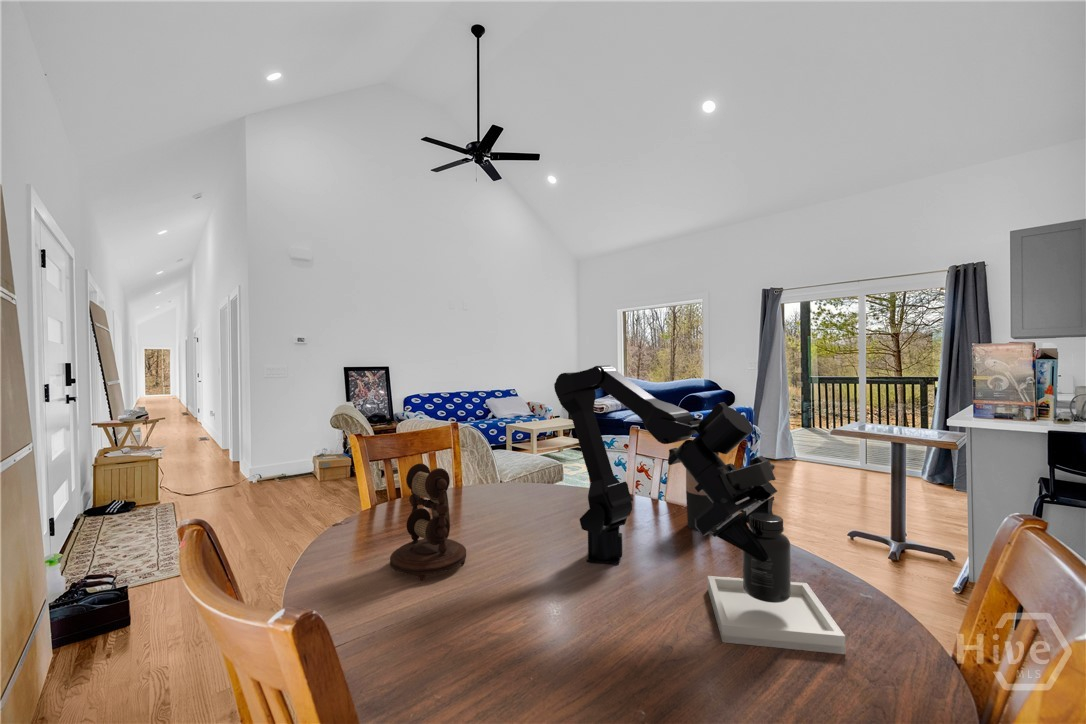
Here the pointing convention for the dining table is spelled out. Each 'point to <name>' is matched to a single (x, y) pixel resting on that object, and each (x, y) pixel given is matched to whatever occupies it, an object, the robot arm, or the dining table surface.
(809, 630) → the tray
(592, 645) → the dining table surface
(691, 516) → the travel mug
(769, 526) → the supplement bottle
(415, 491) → the thread spool stand
